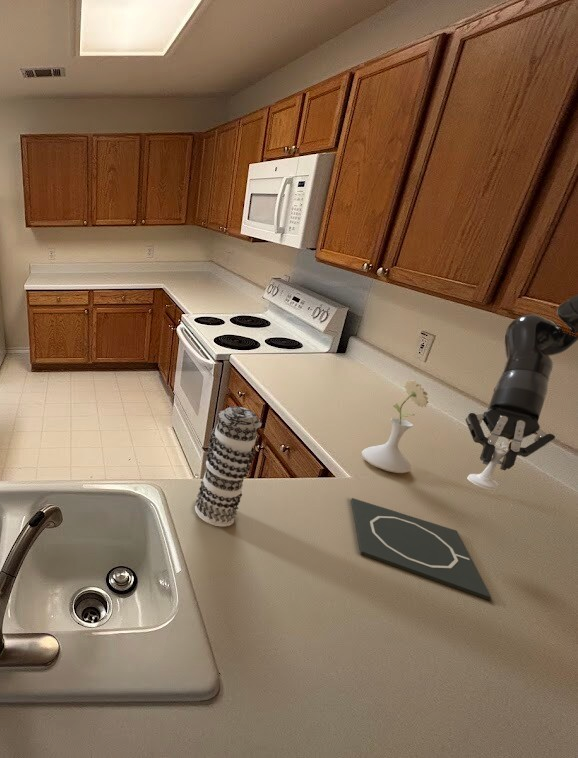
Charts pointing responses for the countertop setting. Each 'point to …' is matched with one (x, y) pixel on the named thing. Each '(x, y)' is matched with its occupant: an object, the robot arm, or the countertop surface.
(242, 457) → the decorative candle
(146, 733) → the countertop surface
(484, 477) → the chess piece
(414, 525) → the slate board
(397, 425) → the flower in vase
